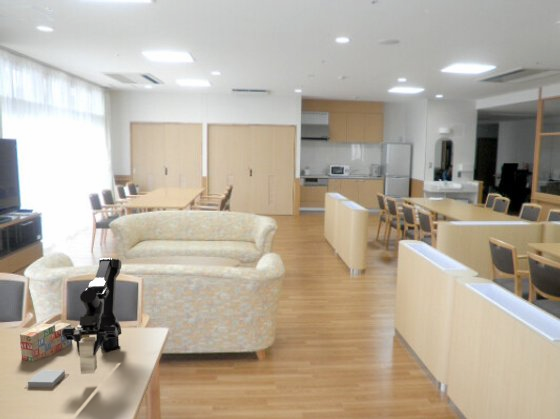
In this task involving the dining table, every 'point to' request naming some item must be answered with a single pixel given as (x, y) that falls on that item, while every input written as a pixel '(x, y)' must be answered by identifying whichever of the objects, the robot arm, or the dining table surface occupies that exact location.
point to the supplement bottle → (81, 329)
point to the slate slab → (46, 378)
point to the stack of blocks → (43, 341)
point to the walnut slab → (49, 387)
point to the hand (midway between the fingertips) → (87, 355)
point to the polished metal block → (87, 355)
